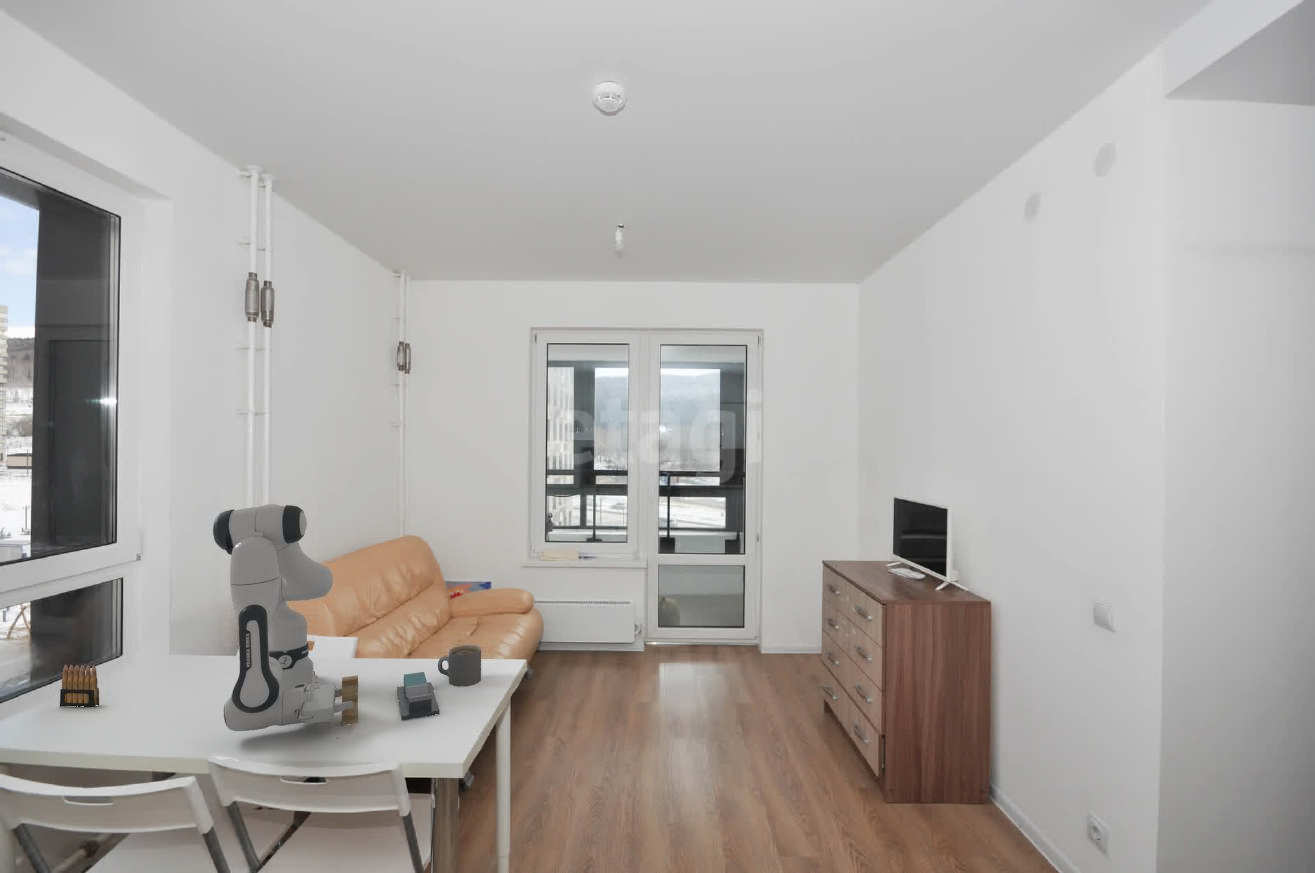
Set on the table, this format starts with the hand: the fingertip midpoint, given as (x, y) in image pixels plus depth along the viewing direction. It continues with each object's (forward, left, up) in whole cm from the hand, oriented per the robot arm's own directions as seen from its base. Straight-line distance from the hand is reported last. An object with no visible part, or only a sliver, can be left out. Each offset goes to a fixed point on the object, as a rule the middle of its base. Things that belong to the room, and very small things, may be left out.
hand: (353, 697), depth 182 cm
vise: (-7, +17, -7) cm, 20 cm away
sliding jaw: (-14, +17, -5) cm, 23 cm away
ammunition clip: (-45, -73, -7) cm, 86 cm away
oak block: (0, -1, -7) cm, 7 cm away
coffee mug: (-20, +31, -7) cm, 38 cm away
